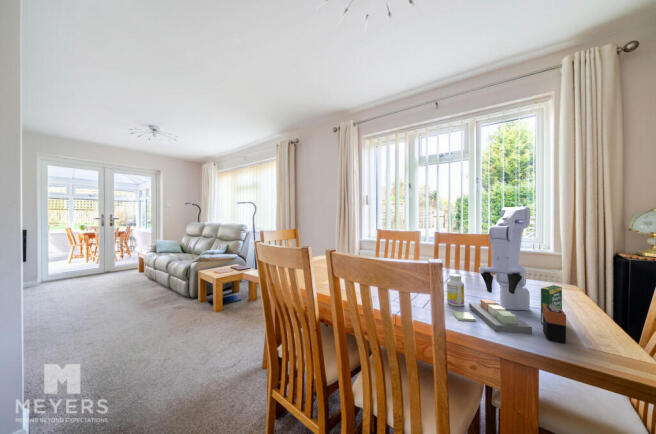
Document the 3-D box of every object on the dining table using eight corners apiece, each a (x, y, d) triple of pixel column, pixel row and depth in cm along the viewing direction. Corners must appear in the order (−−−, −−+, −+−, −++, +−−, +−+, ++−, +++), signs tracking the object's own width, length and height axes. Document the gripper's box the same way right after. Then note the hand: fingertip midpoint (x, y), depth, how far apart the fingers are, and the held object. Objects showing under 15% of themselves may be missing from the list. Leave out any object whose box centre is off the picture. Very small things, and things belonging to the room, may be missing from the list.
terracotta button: (491, 306, 96) (491, 299, 96) (496, 310, 92) (496, 303, 92) (480, 306, 96) (480, 299, 96) (485, 310, 92) (485, 302, 92)
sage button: (509, 319, 84) (509, 311, 84) (516, 325, 80) (516, 316, 80) (496, 319, 85) (496, 310, 85) (503, 324, 81) (503, 315, 81)
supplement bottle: (460, 301, 106) (459, 273, 106) (467, 307, 100) (467, 277, 100) (444, 301, 107) (444, 272, 107) (450, 306, 101) (450, 276, 100)
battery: (547, 340, 73) (547, 308, 73) (542, 331, 79) (542, 301, 79) (566, 344, 71) (566, 311, 71) (560, 335, 76) (560, 304, 76)
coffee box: (549, 327, 82) (549, 289, 82) (539, 323, 84) (539, 287, 84) (563, 323, 85) (563, 287, 85) (553, 319, 87) (553, 284, 87)
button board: (497, 309, 97) (497, 304, 97) (531, 333, 78) (531, 327, 78) (469, 307, 99) (469, 303, 99) (495, 331, 79) (495, 325, 79)
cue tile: (468, 314, 92) (468, 312, 92) (476, 321, 87) (476, 319, 87) (452, 313, 93) (452, 311, 93) (458, 320, 87) (458, 318, 87)
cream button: (499, 312, 90) (499, 305, 90) (505, 317, 86) (505, 309, 86) (488, 312, 90) (488, 304, 90) (493, 316, 87) (493, 308, 87)
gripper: (484, 258, 87) (484, 294, 87) (528, 259, 85) (528, 297, 85) (476, 255, 94) (476, 288, 94) (516, 256, 92) (516, 291, 92)
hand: (500, 292), depth 90 cm, fingers open, 7 cm apart
